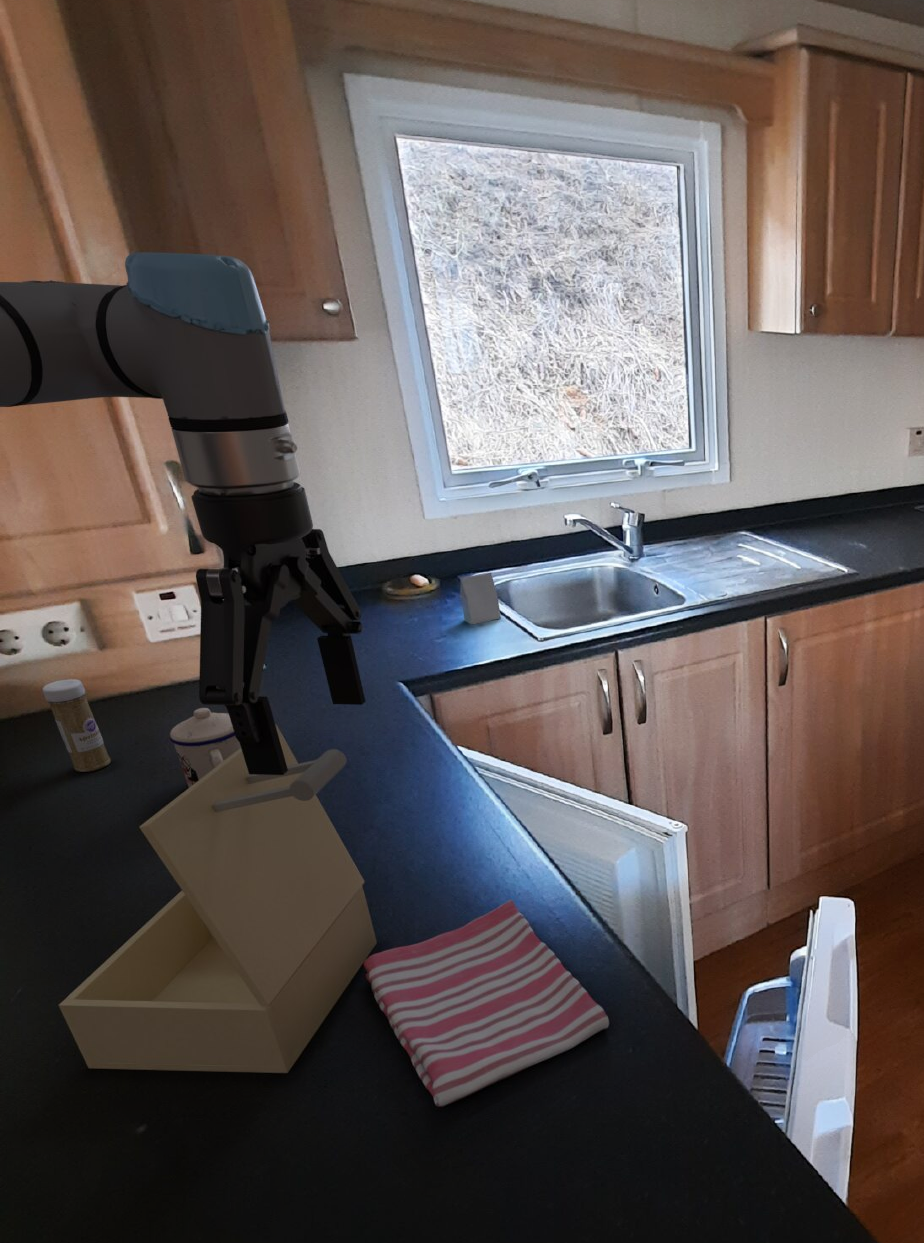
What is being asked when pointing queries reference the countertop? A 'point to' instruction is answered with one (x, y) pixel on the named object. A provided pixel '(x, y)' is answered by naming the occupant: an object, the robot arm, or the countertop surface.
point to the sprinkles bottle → (76, 724)
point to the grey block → (479, 599)
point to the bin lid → (259, 862)
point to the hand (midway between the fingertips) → (312, 735)
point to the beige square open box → (208, 998)
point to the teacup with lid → (203, 743)
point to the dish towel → (481, 1003)
